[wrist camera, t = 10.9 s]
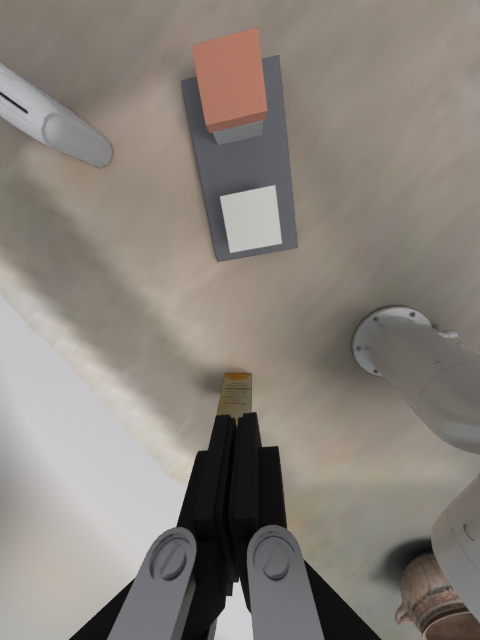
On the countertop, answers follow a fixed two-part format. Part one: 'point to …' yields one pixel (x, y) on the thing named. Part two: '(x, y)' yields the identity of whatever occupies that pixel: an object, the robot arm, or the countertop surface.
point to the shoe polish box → (236, 395)
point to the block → (244, 161)
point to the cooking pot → (434, 603)
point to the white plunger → (251, 219)
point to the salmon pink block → (231, 80)
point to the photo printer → (50, 120)
